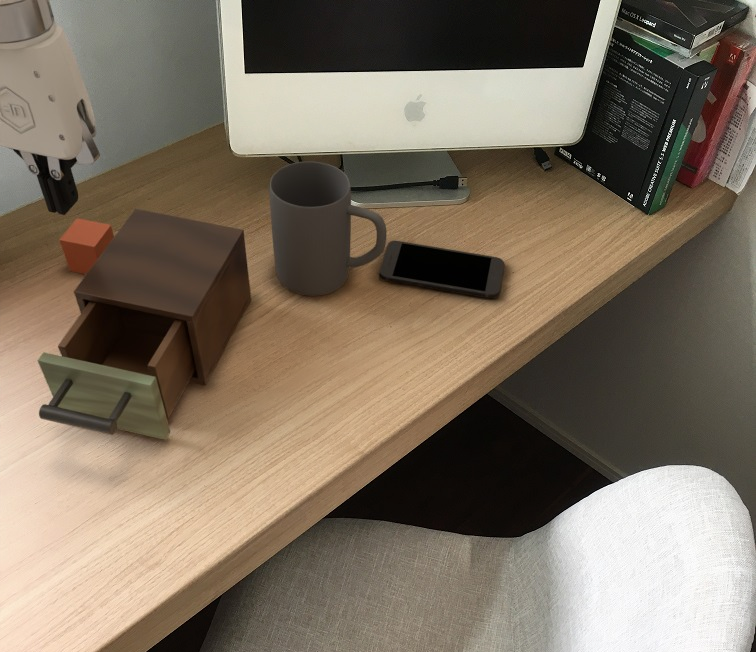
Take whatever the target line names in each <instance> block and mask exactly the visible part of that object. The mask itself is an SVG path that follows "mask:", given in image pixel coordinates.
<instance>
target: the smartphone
mask: <svg viewBox="0 0 756 652" xmlns="http://www.w3.org/2000/svg"><path fill="white" fill-rule="evenodd" d="M505 267H506V264H505V261H504V260H503V259H502V258H500V257H498V256H492V255H485V254H480V253H476V252H475V253H474V252H469V251H468V252H467V251H464V250H463V251H461V250H455V249H449V248H444V247H438V246H432V245H425V244H419V243H414V242H407V241H403V240H402V241H401V240H391V241H389V242H388V243H387V245H386V247H385V251H384V254H383V257H382V260H381V264H380V267H379V270H378V278H380V279H381V280H382V281H386V282H390V283H391V282H392V283H397V284H404V285H408V286H409V285H410V286H416V287H422V288H426V289H434V290H439V291H445V292H451V293H457V294H462V295H468V296H475V297H480V298H486V299H495V298H497V297H499V296H500V294H501V291H502V285H503V279H504V273H505V269H506V268H505Z"/></svg>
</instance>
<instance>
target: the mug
mask: <svg viewBox="0 0 756 652" xmlns="http://www.w3.org/2000/svg"><path fill="white" fill-rule="evenodd" d="M269 207H270V223H271V224H270V225H271V236H272V249H273V260H274V268H275V274H276V277H277V279H278V281H279V282H280V284H281V285H282V286H283V287H284V288H285V289H287V290H289V291H290V292H292V293H295V294H298V295H303V296H307V297H308V296H309V297H310V296H311V297H317V296H323V295H328V294H331V293H333V292H336V291H338V289H340V288H341V287H342V286H344V285H345V284H346V282H347V279H348V277H349V273H350V268H359V267H364V266H366V265H368V264H370V263H371V262H374V261H375V260H377V259H378V258H379V257H380V256H382V255H383V252H385V251H384V250H385V249H386V246H387V245H386V244H387V232H388V231H387V226H386V222H385V220H384V218H383V217H382V216H381V214H379V213H378V212H376V211H374V210H371V209H368V208H366V207H361V206H357V205H353V204H352V189H351V183H350V179H349V177H348V176H347V174H346V173H345V172H343V170H341V169H339V168H338V167H336V166H334V165H332V164H329V163H325V162H319V161H297V162H294V163H290V164H287V165H284V166H282V167H281V168H279V169H278V170H277V171H275V172H274V174H272V176H271V178H270V182H269ZM352 216H354V217H358V218H362V219H365V220H368V221H371V222H372V223H373V225H374V228H375V230H376V240H375V245H374V247H372V248H371V249H370V250H368V251H367V252H366V253H364V254H361V255H360V256H353V257H352V256H351V238H352V237H351V236H352V233H351V232H352Z"/></svg>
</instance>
